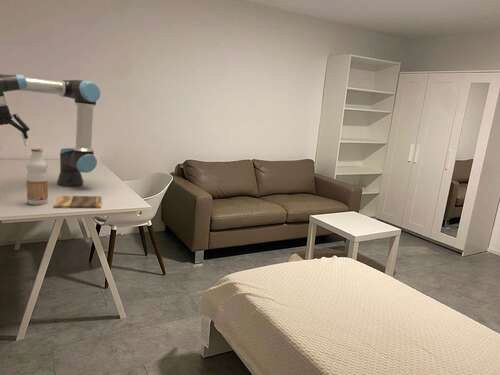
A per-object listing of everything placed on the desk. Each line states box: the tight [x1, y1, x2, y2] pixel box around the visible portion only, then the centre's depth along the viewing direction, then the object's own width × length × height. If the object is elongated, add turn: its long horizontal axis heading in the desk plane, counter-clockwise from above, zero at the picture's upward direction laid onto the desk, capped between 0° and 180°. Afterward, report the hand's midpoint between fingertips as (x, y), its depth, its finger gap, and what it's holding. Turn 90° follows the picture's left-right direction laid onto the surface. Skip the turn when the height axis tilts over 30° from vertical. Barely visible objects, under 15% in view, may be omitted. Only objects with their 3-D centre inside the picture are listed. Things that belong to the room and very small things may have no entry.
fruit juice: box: [26, 147, 49, 206], centre depth 193 cm, size 9×9×28 cm
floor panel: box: [53, 195, 102, 209], centre depth 202 cm, size 22×20×1 cm
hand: (13, 147), depth 194 cm, fingers open, 13 cm apart
